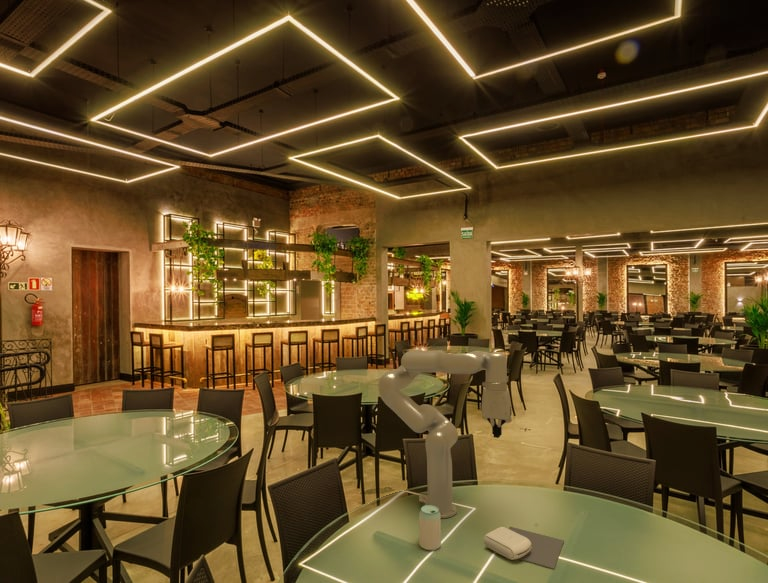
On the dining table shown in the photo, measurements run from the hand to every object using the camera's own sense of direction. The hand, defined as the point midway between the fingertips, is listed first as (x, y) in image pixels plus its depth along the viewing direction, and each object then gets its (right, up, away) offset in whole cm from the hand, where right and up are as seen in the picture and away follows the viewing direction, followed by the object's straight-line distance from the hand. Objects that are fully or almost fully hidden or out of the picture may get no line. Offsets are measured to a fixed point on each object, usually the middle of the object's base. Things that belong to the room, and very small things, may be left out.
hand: (497, 436), depth 159 cm
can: (-26, -31, -15) cm, 43 cm away
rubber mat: (+7, -31, -17) cm, 35 cm away
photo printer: (-5, -28, -14) cm, 32 cm away
